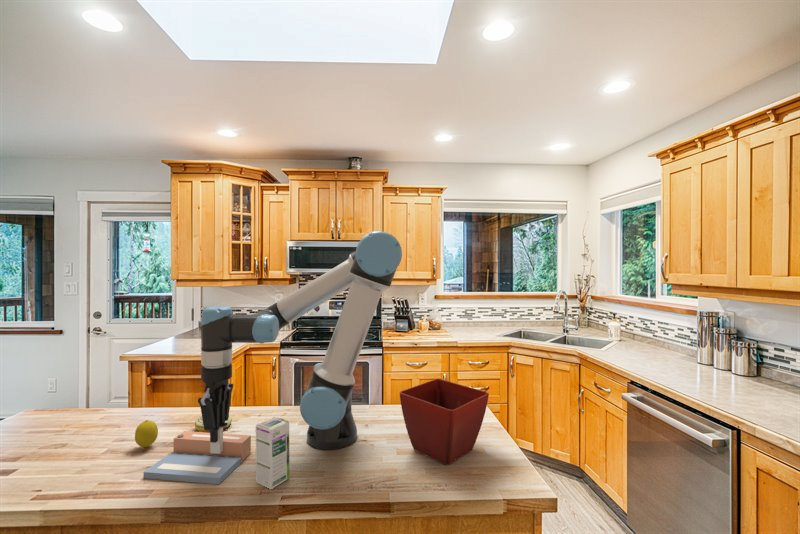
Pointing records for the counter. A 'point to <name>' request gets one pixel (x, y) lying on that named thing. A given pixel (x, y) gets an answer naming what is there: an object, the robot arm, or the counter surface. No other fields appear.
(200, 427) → the decorated donut
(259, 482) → the syrup box
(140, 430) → the lemon
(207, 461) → the board
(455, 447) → the plant pot
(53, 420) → the counter surface
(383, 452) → the counter surface
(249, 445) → the pink rectangular bar
